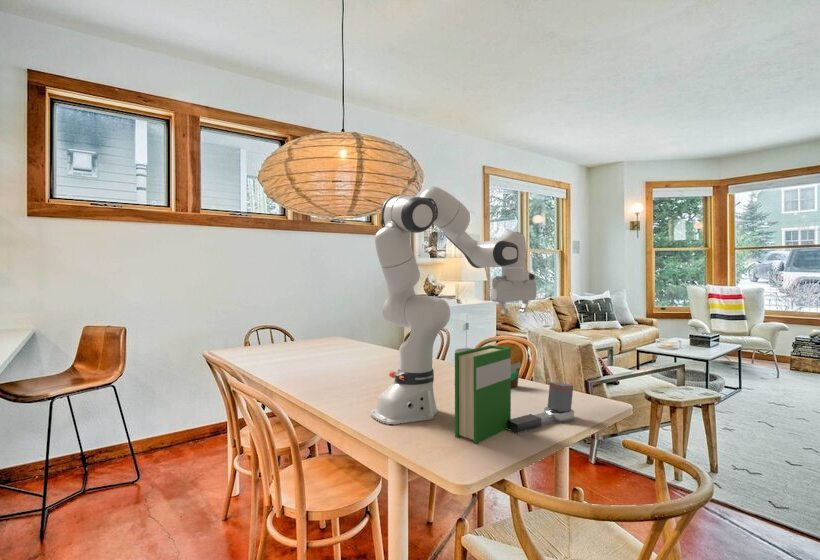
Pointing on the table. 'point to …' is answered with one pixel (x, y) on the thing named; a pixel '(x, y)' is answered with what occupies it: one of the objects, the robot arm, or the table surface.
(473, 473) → the table surface
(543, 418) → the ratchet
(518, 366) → the food container
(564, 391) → the dark grey block
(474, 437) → the hardback book
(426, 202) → the robot arm
